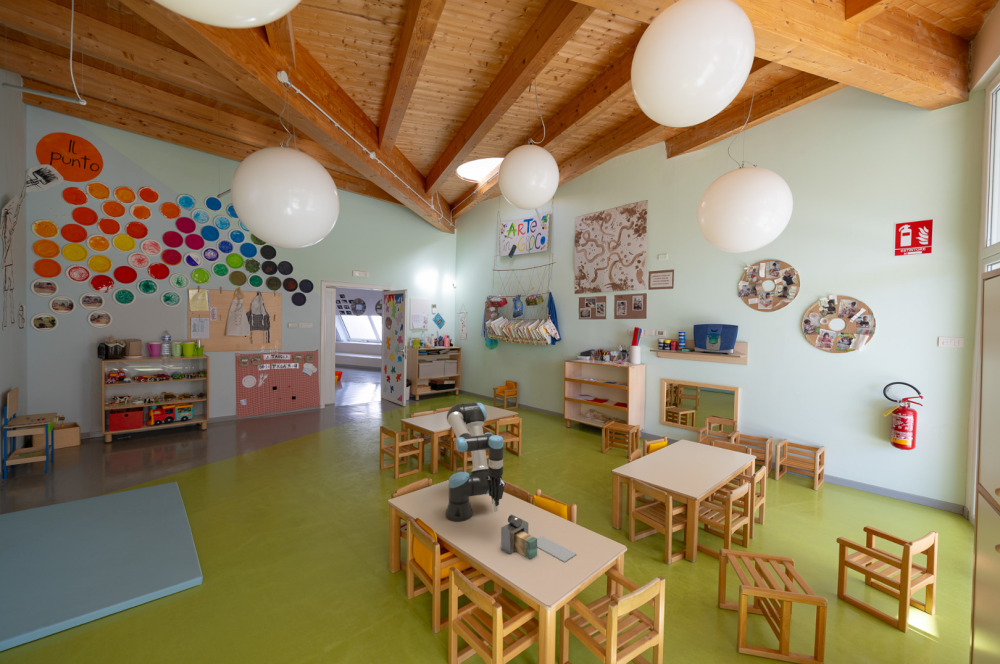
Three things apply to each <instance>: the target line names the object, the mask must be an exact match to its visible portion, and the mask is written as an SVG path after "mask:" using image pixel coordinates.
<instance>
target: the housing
mask: <svg viewBox="0 0 1000 664" xmlns="http://www.w3.org/2000/svg"><path fill="white" fill-rule="evenodd" d="M507 522H508V523H507V524H506V525H503V526H501V528H500V540H501V541H500V549H501V550H502V551H503V552H505V553H506V554H508V555H511V554H512V555H513V554H514V553H515V551H514V533H515V532H517V531H519V530H521V531H523V532H525V533H527V534H529V522H528V521H525V520H524V519H522V518H521V517H520V518H519V517H517V516H516V515H514V514H510V515H508V518H507Z"/></svg>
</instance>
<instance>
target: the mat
mask: <svg viewBox="0 0 1000 664" xmlns="http://www.w3.org/2000/svg"><path fill="white" fill-rule="evenodd" d="M536 538H537V549H539V550H541V551H542V552H545V553H546V554H548V555H550V556H552V557H553V558H556V559H557V560H559V561H561V562H563V563H566V562H568V561H570V560H571V559H573V558H574V557H575V556H577V555H578V554H577V553H576V552H575V551H572V550H570V549H569V548H566V547H564V546H563V545H561V544H558V543H556V542H554V541H553V540H551V539H549V538H547V537H545V536H543V535H540V536H539V537H536Z"/></svg>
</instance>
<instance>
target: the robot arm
mask: <svg viewBox="0 0 1000 664" xmlns="http://www.w3.org/2000/svg"><path fill="white" fill-rule="evenodd" d="M446 421H447V423H448V425H449V426H451V428H452V430H453V433H454V434H455V437H456V439H455V448H456V451H457V452H458V453H466V452H471V462H472V469H471V471H470V474H469V472H468V471H467V472H466V471H459V472H455V473H453V474H452V475H451V476H449V479H448V504H447V508H446V511H445V517H446V519H448V520H450V521H453V522H464V521H467V520H469V519H470V518H472V516H473V508H472V505H471V503H470V497H474V496H483V495H488V496H489V497H491V505H492V512H493V513H495V512H498V511H499V505H500V500H502V499H503V497H504V495H503V494H504V490H505V487H506V484H507V483H506V482H504V481H503V474H504V467H503V466H504V438H503V436H500V435H497V434H496V435H495V434H493V433H492V432H485V433H484V429H483V426H484V425H485V421H487V411H486V407H485V405H484V404H483V403H481V402H468V403H457V404H454V405H453V406H452V407H450V408H449V410H448V412H447V413H446ZM486 450H487V452H488V461H487V453H486Z"/></svg>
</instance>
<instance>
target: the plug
mask: <svg viewBox="0 0 1000 664" xmlns="http://www.w3.org/2000/svg"><path fill="white" fill-rule="evenodd" d="M537 538H538V537H535V536H532V535H530V534H529V533H528V534H527V533H525V532H523V531H521V530H519V531H517V532H515V533H514V552H516V553H518V554H520V555H522V556H523V557H525V558H527V559H529V560H532V559H533V558H535V557H536V556H538V548H537Z"/></svg>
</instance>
